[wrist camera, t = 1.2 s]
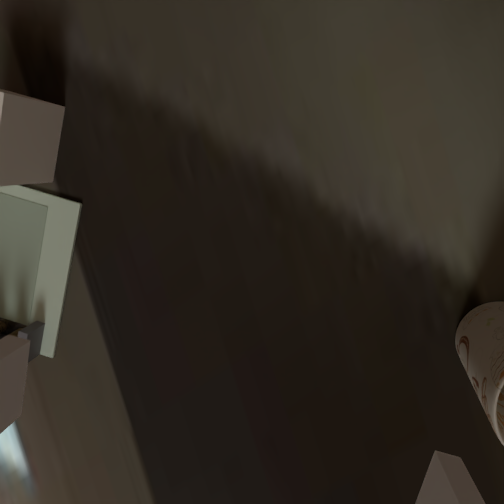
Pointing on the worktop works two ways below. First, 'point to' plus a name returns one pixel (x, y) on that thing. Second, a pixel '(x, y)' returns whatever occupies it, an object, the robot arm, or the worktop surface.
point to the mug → (485, 358)
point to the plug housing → (28, 139)
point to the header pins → (10, 327)
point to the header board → (35, 262)
